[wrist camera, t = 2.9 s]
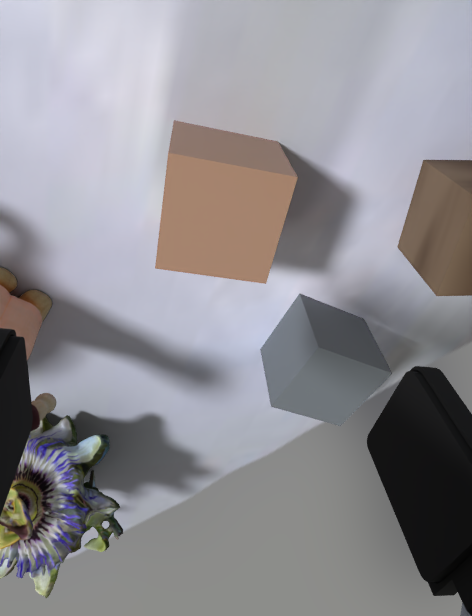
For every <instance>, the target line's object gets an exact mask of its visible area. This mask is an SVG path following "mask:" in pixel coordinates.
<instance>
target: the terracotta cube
mask: <svg viewBox="0 0 472 616" xmlns="http://www.w3.org/2000/svg"><path fill="white" fill-rule="evenodd" d="M297 179H298V177H297V175H296V173H295V171H294V169H293V168H292V166H291V164H290V162H289V160H288V159H287V157H286V155H285V153H284V152H283V150H282V148H281V146H280V144H279V143H278V142H277V141H272V140H267V139H263V138H258V137H253V136H248V135H243V134H238V133H233V132H228V131H223V130H218V129H214V128H209V127H204V126H199V125H194V124H189V123H184V122H179V121H174V123H173V129H172V135H171V141H170V146H169V152H168V161H167V170H166V178H165V187H164V196H163V205H162V213H161V222H160V231H159V239H158V248H157V257H156V266H155V268H156V269H163V270H171V271H178V272H185V273H192V274H200V275H207V276H214V277H221V278H229V279H236V280H243V281H251V282H258V283H265V284H266V281H267V278H268V275H269V271H270V268H271V265H272V262H273V258H274V255H275V252H276V248H277V245H278V242H279V238H280V235H281V232H282V228H283V225H284V222H285V218H286V215H287V212H288V208H289V205H290V202H291V199H292V195H293V192H294V189H295V185H296V182H297Z"/></svg>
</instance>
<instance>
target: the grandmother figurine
mask: <svg viewBox="0 0 472 616" xmlns="http://www.w3.org/2000/svg"><path fill="white" fill-rule="evenodd" d="M16 287H17V280H16V278H15V276H14V275H13V274H11V273H10V272H9V271H8V270H6V269H5V268H1V267H0V328H4V329H13V330H15V332H16V336H19V337H24V339H25V346H26V355H27V360H28V358H29V357H30V355H31V352H32V350H33V347H34V344H35V341H36V338H37V335H38V332H39V330H40V327H41V324H42V322H43V321H44V319H45V317H46V316H47V314H48V312H49V310H50V308H51V306H52V301H51V299H50V298H49V297H48V296H47V295H46V294H44V293H42V292H40V291H38V290H29V291H27V292H25V293H24V294H23V295H21V296H20V297H19V298H17V297H15V296H12V295H10V294H9V293H10V292H11V291H13V290H14V289H15V288H16ZM31 404H32V414H33V422H32V428H31V431H33V430H35V429H37V428H38V427H39V426H40V421H41V420H42V419H43V418H44V417H45V416H46V414H47V413H50V412H51V411H53V410H54V408H55V407H56V399H55V397H54V396H53V395H51V394H49V393H43V394H40V395H39V396H38V397H37V398H36V399H35V401H32V402H31Z"/></svg>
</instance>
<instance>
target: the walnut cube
mask: <svg viewBox="0 0 472 616" xmlns="http://www.w3.org/2000/svg"><path fill="white" fill-rule="evenodd" d="M398 248H399V250H400V251H401V252H402V253H403V255H404V256H405V257H406V258H407V260H408V261H409V262H410V263H411V265H412V266H413V267H414V268H415V270H416V271H417V272H418V273H419V275H420V276H421V277H422V278H423V280H424V281H425V282H426V283H427V285H428V286H429V287H430V288H431V289H432V291H433V292H434V293H435V294H436V296H465V295H472V160H423V164H422V167H421V170H420V174H419V177H418V180H417V184H416V187H415V190H414V194H413V197H412V200H411V204H410V207H409V210H408V214H407V217H406V220H405V224H404V227H403V230H402V234H401V237H400V240H399V244H398Z"/></svg>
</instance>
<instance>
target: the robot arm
mask: <svg viewBox="0 0 472 616" xmlns="http://www.w3.org/2000/svg"><path fill="white" fill-rule="evenodd" d="M32 422H33V414H32V404H31V395H30V385H29V375H28V365H27V355H26V346H25V339H24V337H19V336H16V332H15V330H13V329H4V328H0V516H1V513H2V510H3V508H4V505H5V502H6V499H7V496H8V494H9V491H10V488H11V485H12V483H13V480H14V477H15V474H16V471H17V469H18V466H19V463H20V460H21V457H22V455H23V452H24V449H25V446H26V443H27V441H28V438H29V435H30V432H31V428H32ZM367 446H368V449H369V452H370V454H371V456H372V459H373V461H374V464H375V466H376V469H377V471H378V474H379V476H380V478H381V481H382V483H383V486H384V488H385V490H386V493H387V495H388V497H389V500H390V502H391V505H392V507H393V510H394V512H395V515H396V517H397V519H398V522H399V524H400V527H401V529H402V531H403V534H404V536H405V539H406V541H407V544H408V546H409V548H410V551H411V553H412V556H413V558H414V561H415V563H416V565H417V568H418V570H419V572H420V574H421V576H422V578H423V579H424V580H425V581H427V582H428V583H429V586H430V588H431V591H432V593H433V595H434V596H442V595H443V596H444V595H455V594H456V593H457V592H458V593H459V595H460V598H461V600H462V602H463V603H462V609H461V615H460V616H472V414H471V413H470V411H469V410H468V409H467V407H466V405H465V404H464V403H463V401H462V400H461V398H460V397H459V395H458V394H457V393H456V391H455V390H454V388H453V387H452V385H451V384H450V383H449V381H448V380H447V378H446V377H445V376H444V374H443V373H442V372H441V370H439V369H437V368H430V367H420V366H415V367H414V368H412V369H411V370H410V371H408V372H406V374H405V375H404V377H403V378H402V380H401V381H400V383H399V385H398V386H397V388H396V390H395V391H394V393H393V395H392V396H391V398H390V400H389V401H388V403H387V405H386V406H385V408H384V410H383V411H382V413H381V415H380V416H379V418H378V420H377V421H376V423H375V425H374V426H373V428H372V429H371V431H370V433H369V435H368V438H367Z"/></svg>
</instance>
